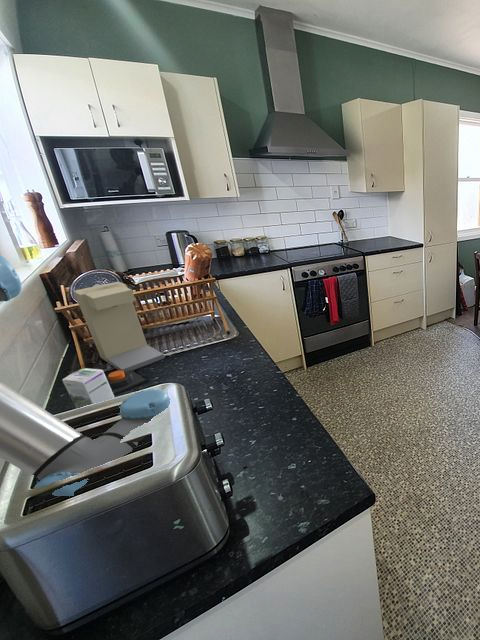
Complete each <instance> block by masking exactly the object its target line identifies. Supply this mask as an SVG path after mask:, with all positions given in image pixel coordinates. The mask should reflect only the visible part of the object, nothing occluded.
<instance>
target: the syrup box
mask: <svg viewBox="0 0 480 640" xmlns="http://www.w3.org/2000/svg"><path fill="white" fill-rule="evenodd" d="M106 377H107V376H106V374H105V372H104V370H103V369H99V368H88V367H87V368H86V367H82V368H80V369H78V370H76V371H73V372H72V373H70V374H69V375H67V376H66V377H64V378H62V380H61V382H62V384H63V385H64V387H65V389H66V391H67V393H68V395H69V397H70V399H71V402H72V403H73V405H74V407H75V409H76V408H80V407H83V406H86V405H90V404H94V403H97V402H101V401H105V400H108V399H111V398H114V397H115V395H113V392H112V390H111V388H110V385H109V383H108V381H107V378H106Z"/></svg>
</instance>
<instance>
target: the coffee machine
mask: <svg viewBox="0 0 480 640" xmlns="http://www.w3.org/2000/svg"><path fill="white" fill-rule="evenodd" d="M72 292H73V294H74V296H75V299H76V302H77V304H78V306H79V309H80V311H81V314H82V316H83V318H84V321H85V323H86V326H87V328H88V331H89V333H90V336H91V338H92V340H93V343H94V345H95V347H96V349H97V352H98V354H99V357H100V358H101V359H102V360H103V361H105V362H107V363H108V364H109V365H110V366H112V367H113V368H115V369H116V371H119V370H122V371H124V372H127V371H130V370H132V371H135V370H137V369H140V368H143V367H145V366H149V365H151V364H153V363H156V362H159V361H161V360H164V359H165V356H164V354H163V353H162V352H161V351H159V350H157V349H155V348H153V347H152V346H150V345H149V344H148V343H147V340H146V337H145V334H144V332H143V329H142V326H141V323H140V320H139V316H138V314H137V311H136V308H135V305H134V302H136V297H135V295H134V292H133V290H132V288H129V287H128V284H125V283H124V282H121V281H115V282H110V283H104V284H99V285H95V286H91V287H85V288H80V289H76V290H73V291H72Z"/></svg>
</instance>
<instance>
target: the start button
mask: <svg viewBox="0 0 480 640" xmlns="http://www.w3.org/2000/svg"><path fill="white" fill-rule="evenodd" d="M108 376H109V379H110V381H118V380H121V379H123V378H124V377H125V374H124V371H122V370H114V371H112V372H110V373H108V375H107V377H108Z"/></svg>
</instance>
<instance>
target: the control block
mask: <svg viewBox="0 0 480 640" xmlns="http://www.w3.org/2000/svg"><path fill="white" fill-rule="evenodd" d="M124 374H125V377H124V378H123V379H121V380H118V381H110V379H109V376H108V375H107V376H106V378H107V381H108V383H109V385H110V388H111V390H112V392H113V395H114V396H117V395H119V394H122V393H124V392H126V391H128V390H132V389H134V388H135V387H139V386H140V385H143V384H145V383H147V379H145V378H144V377H142V376H141V375H140V374H138V373H136V372H135V370H130V371H127V372H124Z"/></svg>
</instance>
